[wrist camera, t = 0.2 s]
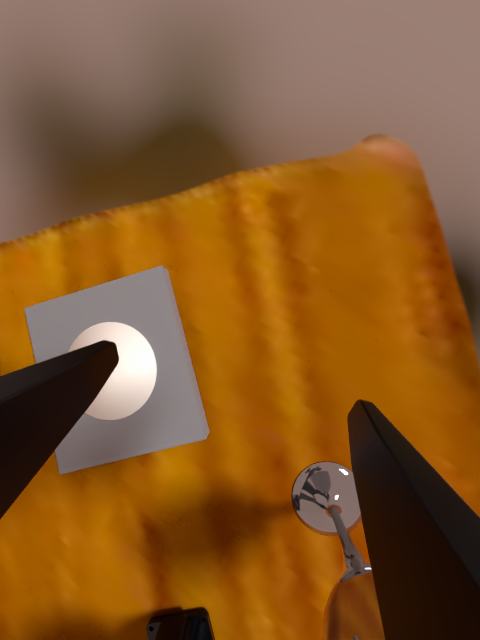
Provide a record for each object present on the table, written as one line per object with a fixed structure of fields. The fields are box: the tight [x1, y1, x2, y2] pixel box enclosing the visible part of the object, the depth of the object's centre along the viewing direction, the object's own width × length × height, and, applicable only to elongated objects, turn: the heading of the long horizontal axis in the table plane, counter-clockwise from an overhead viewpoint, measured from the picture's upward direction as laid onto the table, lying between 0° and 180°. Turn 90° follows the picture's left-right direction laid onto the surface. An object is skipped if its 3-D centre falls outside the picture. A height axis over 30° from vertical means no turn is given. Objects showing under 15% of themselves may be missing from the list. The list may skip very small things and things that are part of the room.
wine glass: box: [292, 462, 385, 640], centre depth 14 cm, size 8×8×15 cm
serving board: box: [24, 266, 210, 474], centre depth 23 cm, size 18×16×2 cm
